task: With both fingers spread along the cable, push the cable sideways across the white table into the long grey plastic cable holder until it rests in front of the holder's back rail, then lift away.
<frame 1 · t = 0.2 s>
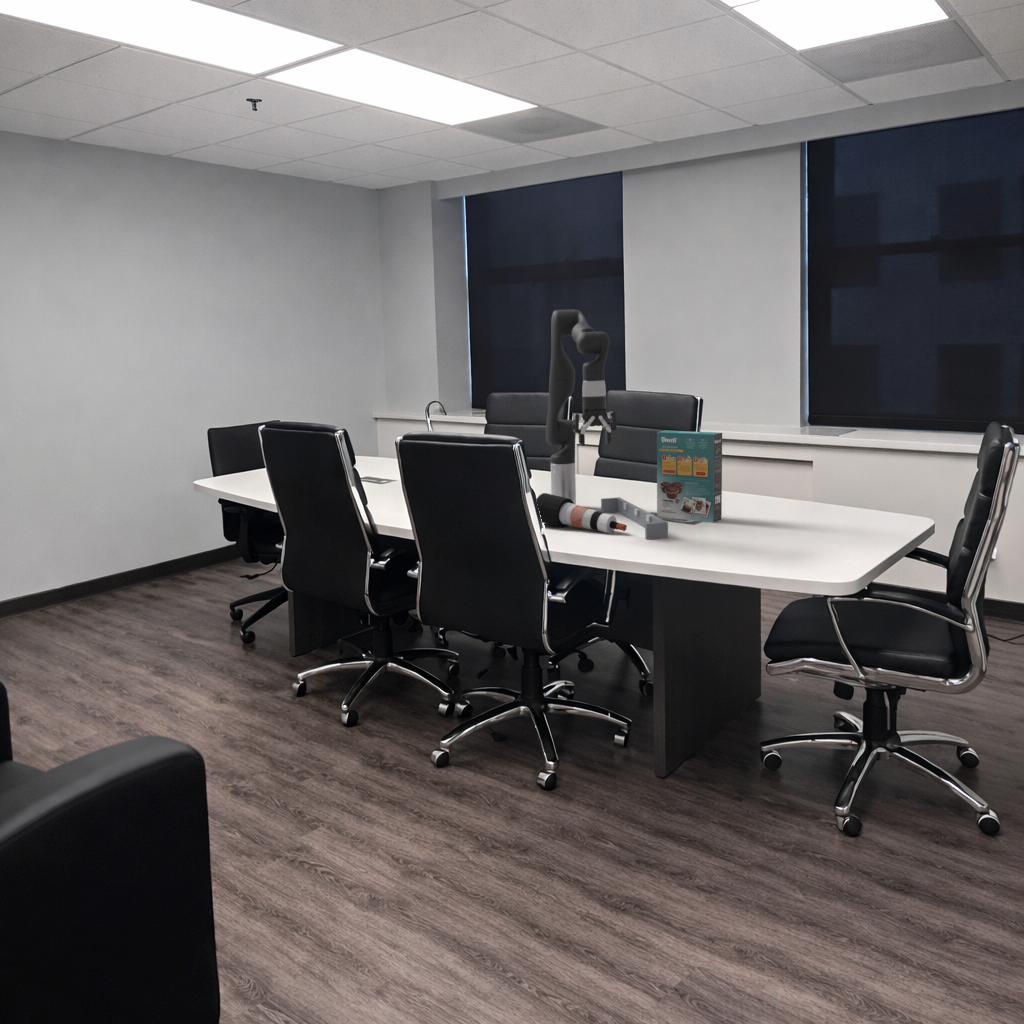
hand: (594, 444, 301), 29 cm above the table, tool pointing down, fingers open, 8 cm apart
cable holder: (639, 523, 316), on the table
cable: (582, 530, 310), on the table
cake mix box: (688, 518, 322), on the table
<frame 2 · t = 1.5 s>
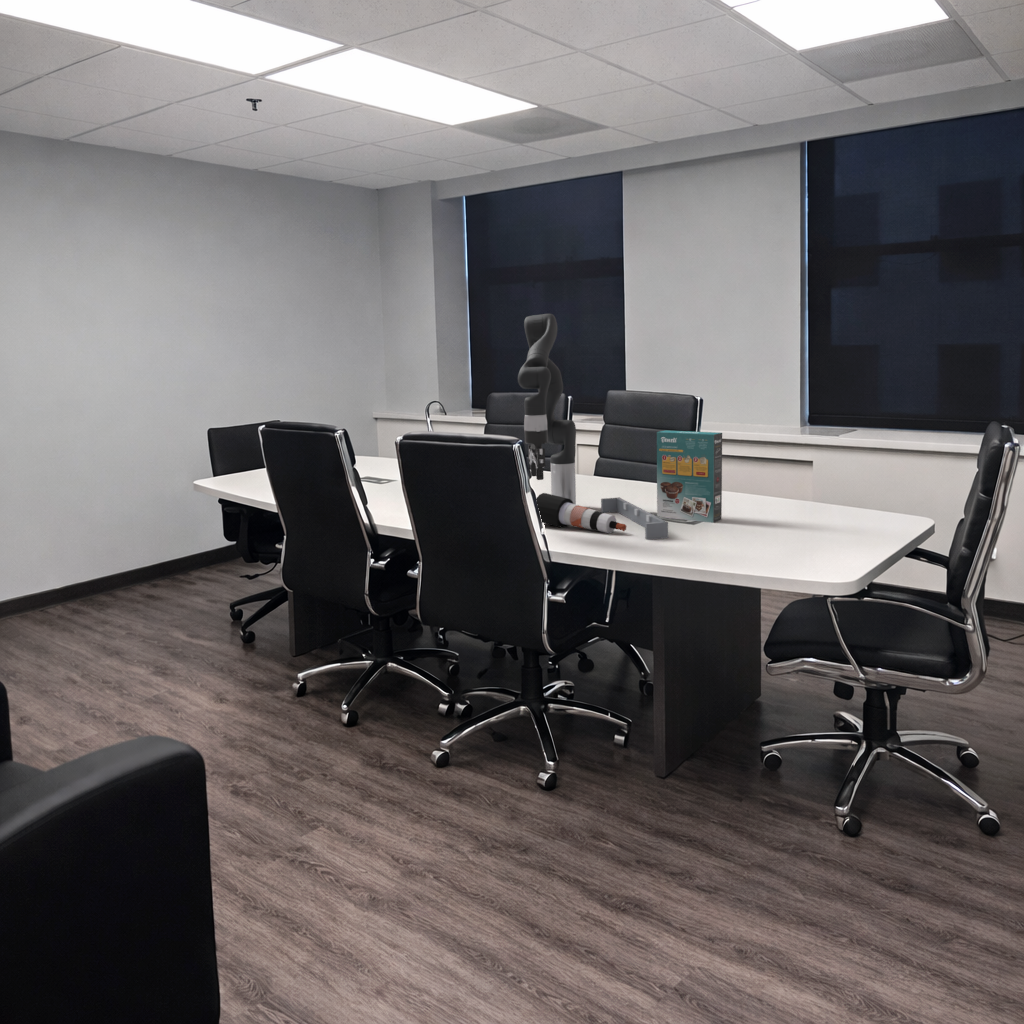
hand: (537, 477, 304), 18 cm above the table, tool pointing down, fingers open, 8 cm apart
nothing on the table moved.
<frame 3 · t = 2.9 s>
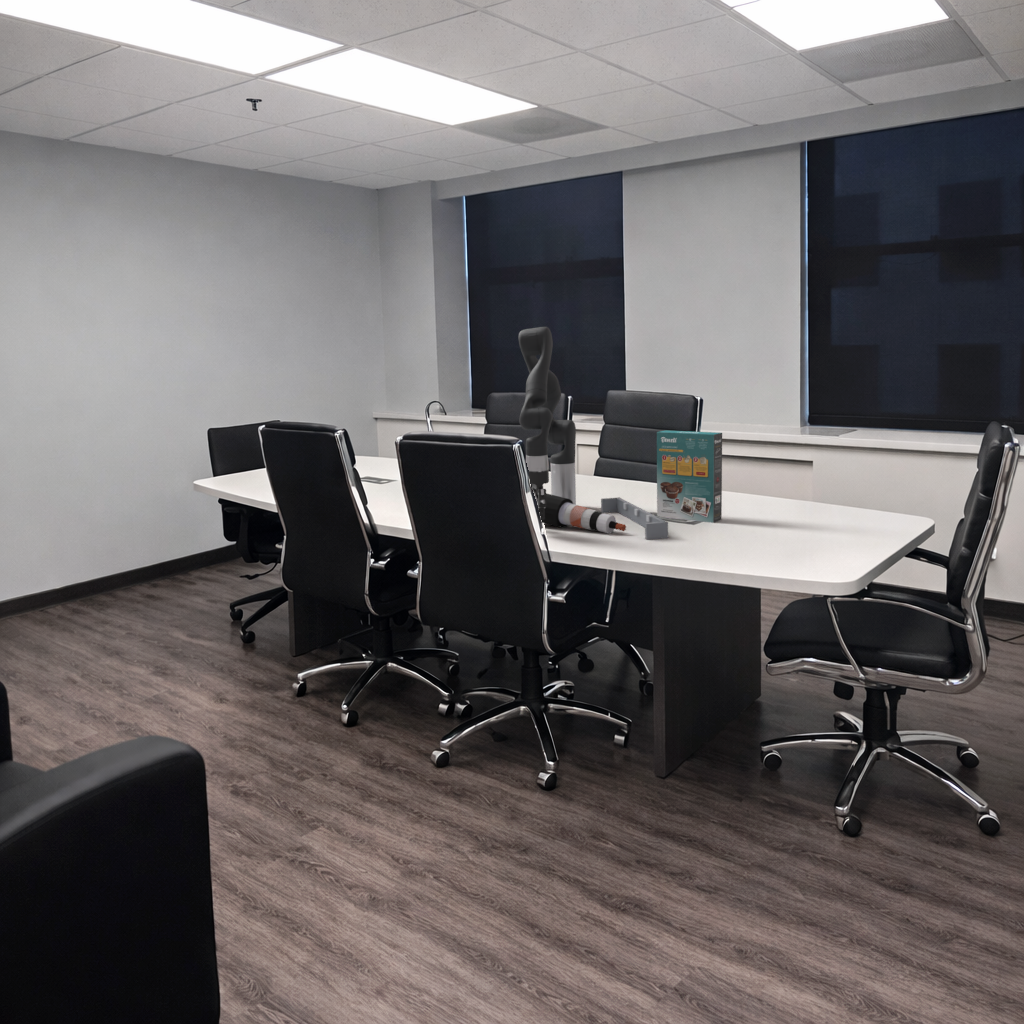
hand: (538, 517, 306), 5 cm above the table, tool pointing down, fingers open, 8 cm apart
nothing on the table moved.
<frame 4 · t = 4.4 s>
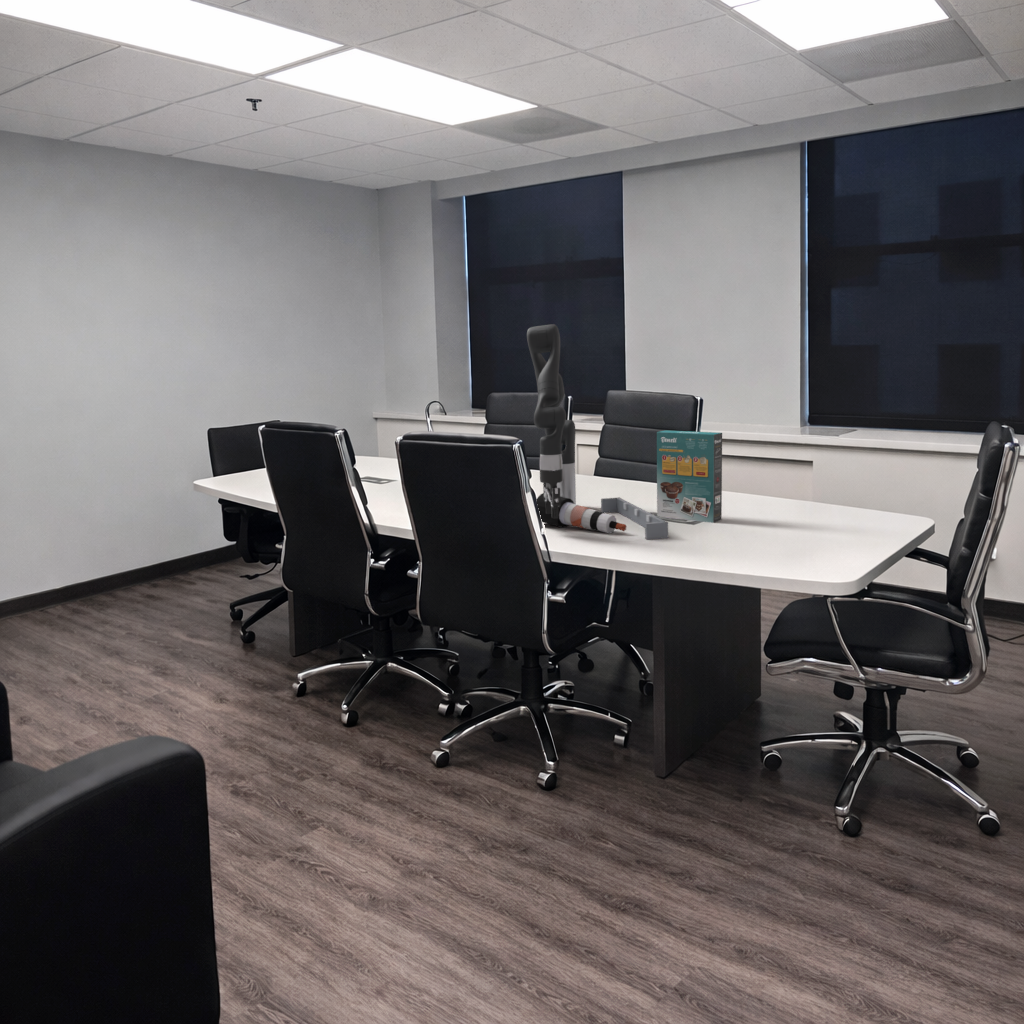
hand: (552, 516, 307), 5 cm above the table, tool pointing down, fingers open, 8 cm apart
cable: (582, 530, 310), on the table, touching gripper
everything else where it was.
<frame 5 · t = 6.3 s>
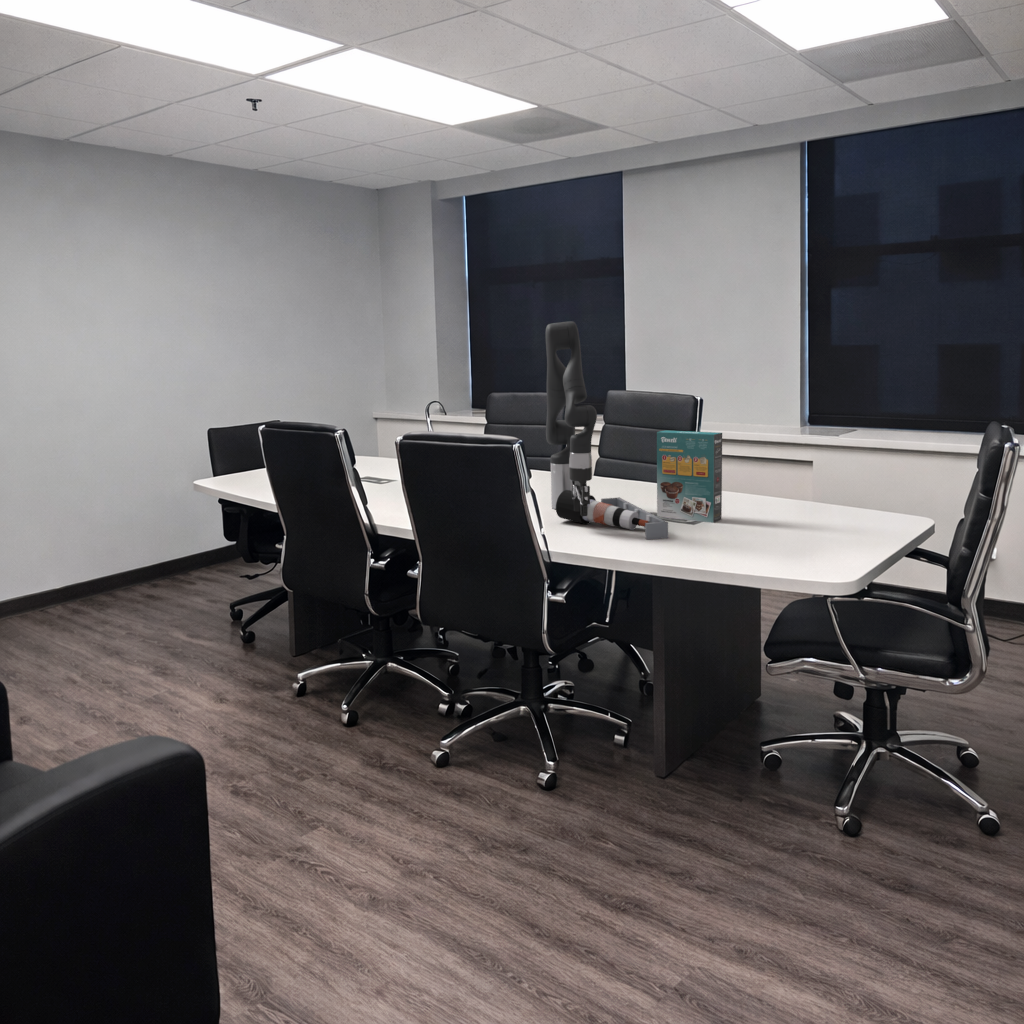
hand: (580, 513, 309), 5 cm above the table, tool pointing down, fingers open, 8 cm apart
cable: (604, 526, 314), on the table, touching cable holder, gripper
everything else where it was.
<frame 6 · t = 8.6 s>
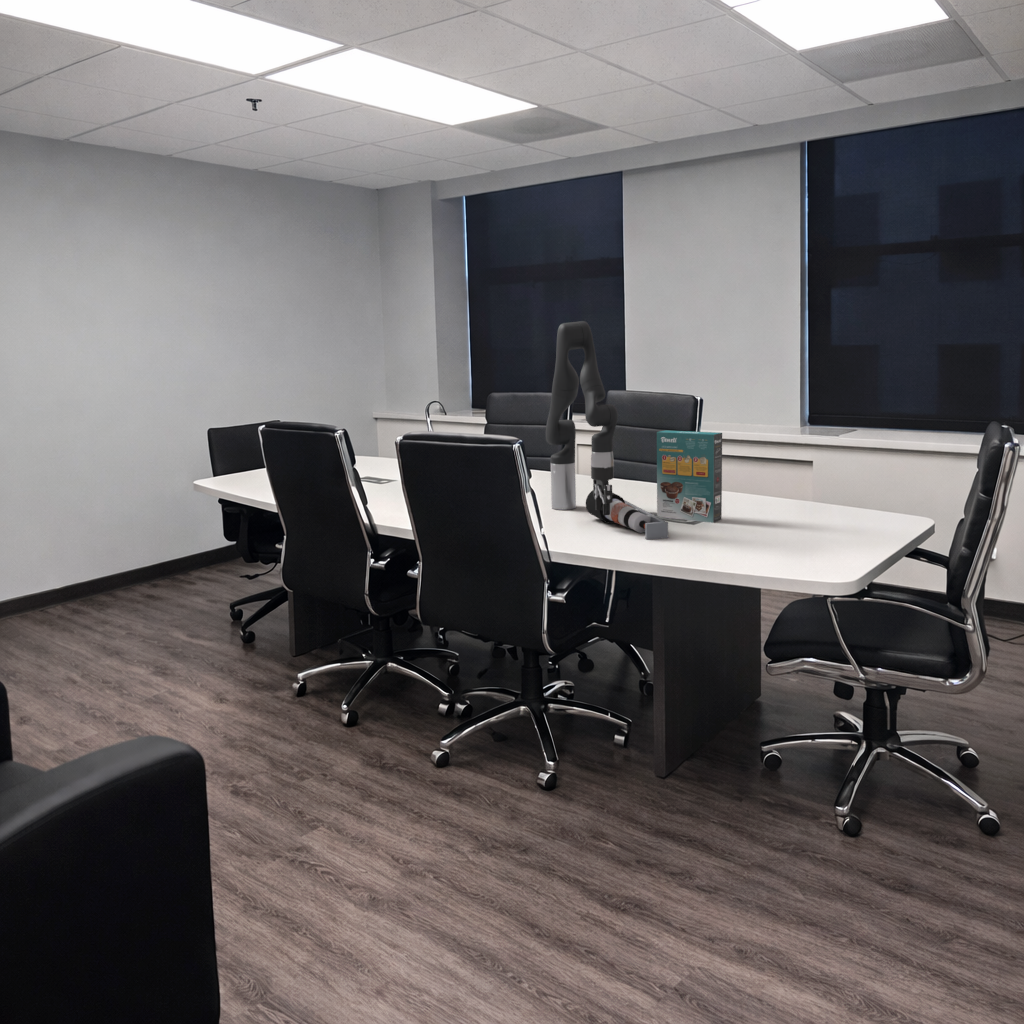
hand: (602, 512, 310), 5 cm above the table, tool pointing down, fingers open, 8 cm apart
cable: (622, 527, 311), on the table, touching gripper
everything else where it was.
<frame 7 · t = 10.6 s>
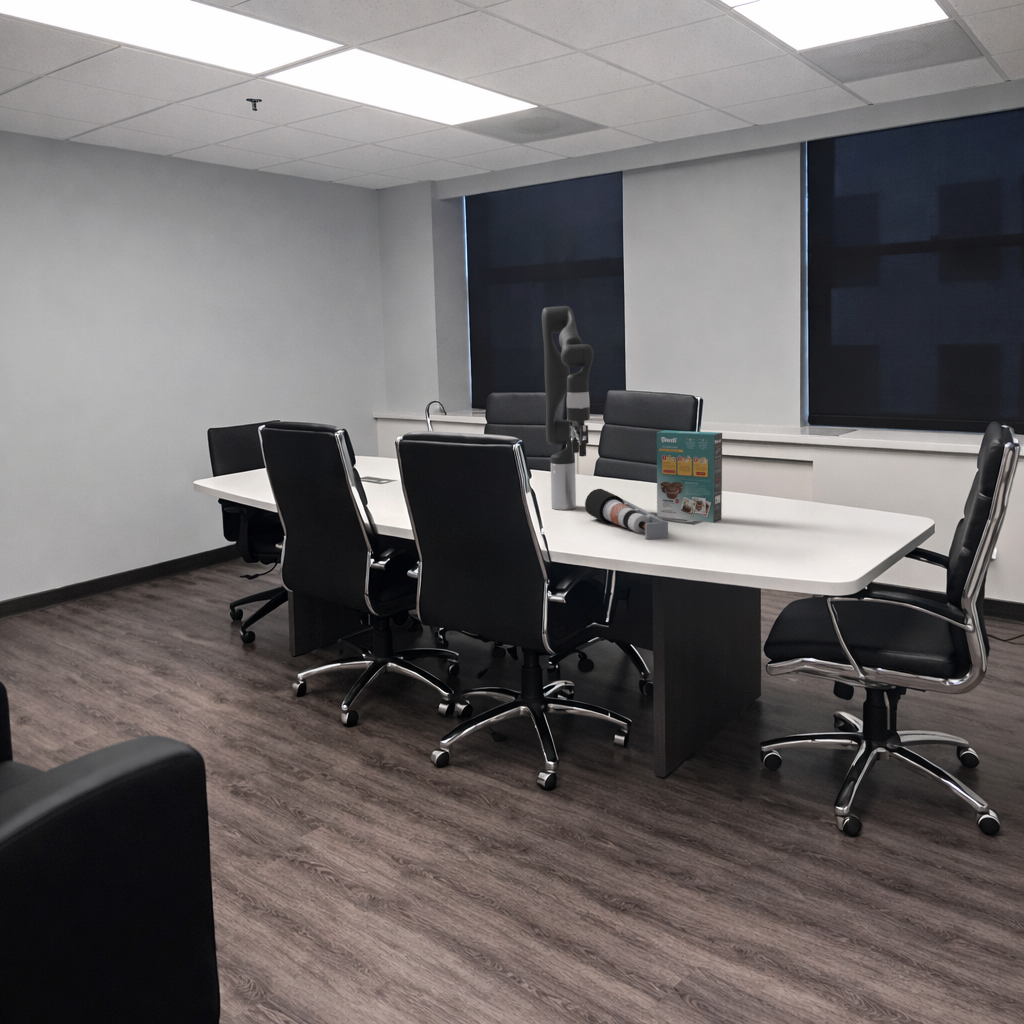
hand: (579, 454, 308), 25 cm above the table, tool pointing down, fingers open, 8 cm apart
cable: (622, 528, 311), on the table
everything else where it was.
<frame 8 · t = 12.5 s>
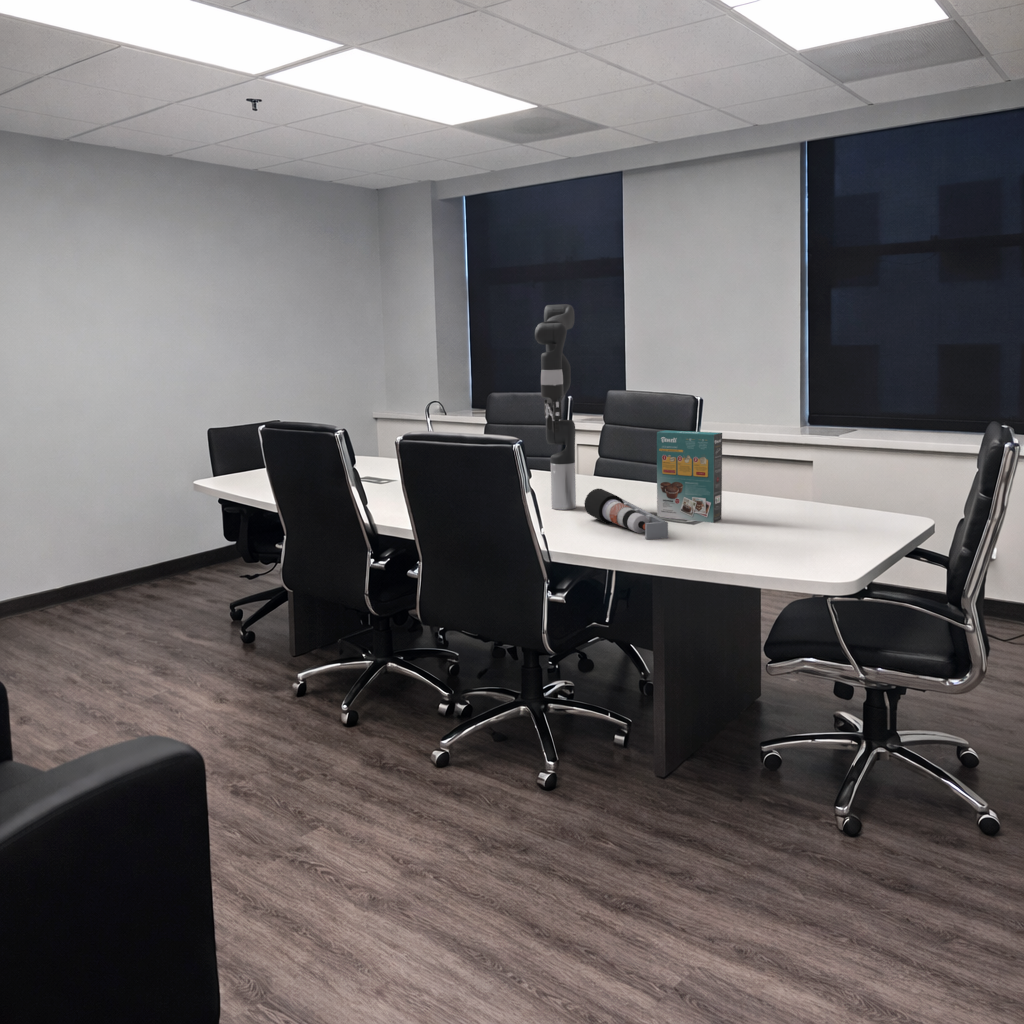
hand: (553, 431, 315), 32 cm above the table, tool pointing down, fingers open, 8 cm apart
nothing on the table moved.
at the end: cable inside the target area (3.6 cm from its centre), on the table; cable moved 13.6 cm from its start; the gripper is holding nothing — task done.
